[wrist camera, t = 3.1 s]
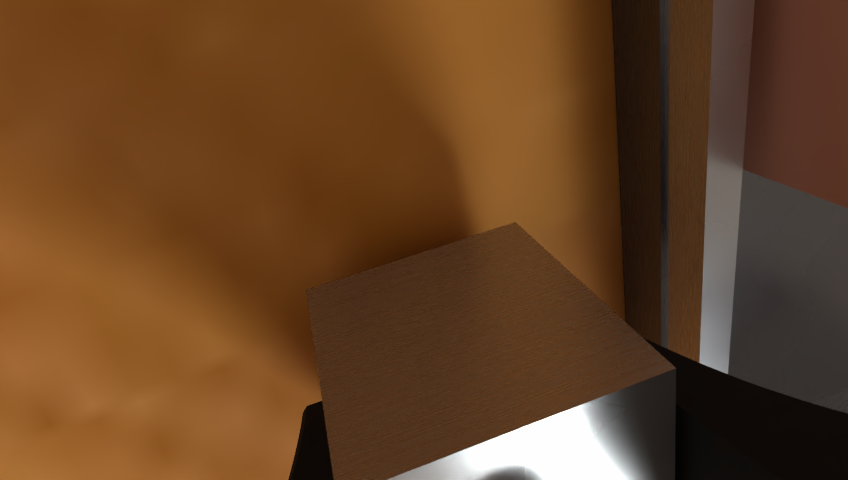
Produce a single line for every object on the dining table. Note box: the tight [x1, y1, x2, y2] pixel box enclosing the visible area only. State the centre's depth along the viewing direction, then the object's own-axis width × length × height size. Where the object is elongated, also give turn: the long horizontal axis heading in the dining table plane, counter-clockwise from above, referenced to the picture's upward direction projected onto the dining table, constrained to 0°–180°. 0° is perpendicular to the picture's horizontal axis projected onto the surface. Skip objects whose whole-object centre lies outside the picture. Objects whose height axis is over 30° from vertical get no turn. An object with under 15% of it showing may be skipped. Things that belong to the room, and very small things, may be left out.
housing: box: [306, 222, 676, 480], centre depth 9 cm, size 5×4×6 cm
